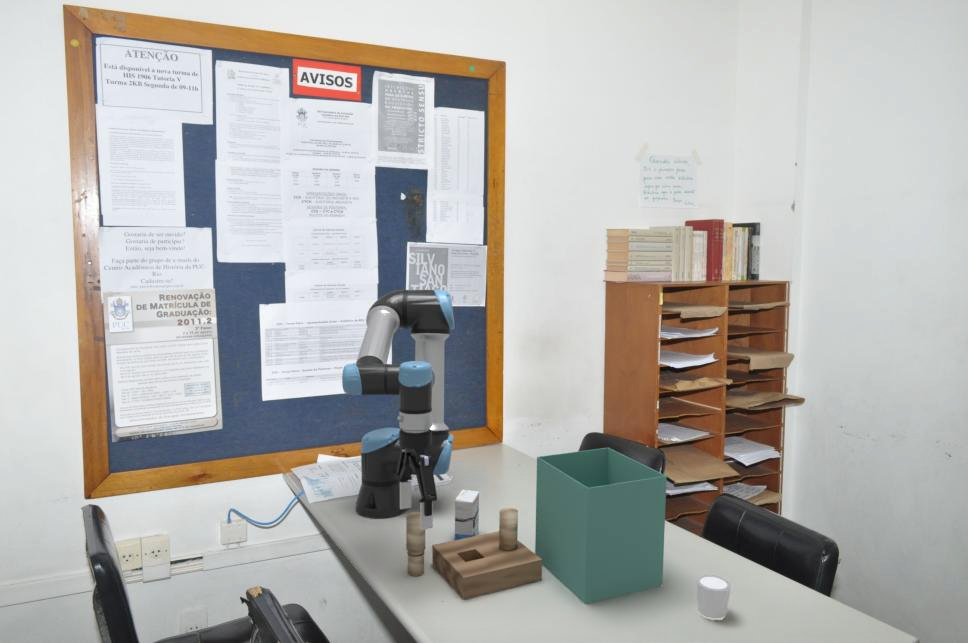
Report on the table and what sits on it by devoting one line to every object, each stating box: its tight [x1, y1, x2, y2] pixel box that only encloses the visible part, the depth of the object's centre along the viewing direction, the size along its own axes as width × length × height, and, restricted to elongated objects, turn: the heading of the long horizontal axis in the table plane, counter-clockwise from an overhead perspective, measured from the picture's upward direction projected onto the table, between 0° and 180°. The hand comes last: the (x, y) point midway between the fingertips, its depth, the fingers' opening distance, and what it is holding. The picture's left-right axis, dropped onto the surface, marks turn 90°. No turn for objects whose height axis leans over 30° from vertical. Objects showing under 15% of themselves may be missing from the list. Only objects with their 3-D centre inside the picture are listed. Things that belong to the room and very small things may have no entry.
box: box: [534, 447, 668, 605], centre depth 158 cm, size 23×21×26 cm
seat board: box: [431, 507, 543, 600], centre depth 158 cm, size 18×20×14 cm
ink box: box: [454, 489, 480, 540], centre depth 177 cm, size 8×5×12 cm, turn 168°
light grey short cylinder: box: [695, 574, 732, 618], centre depth 141 cm, size 7×7×7 cm
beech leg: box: [405, 511, 426, 577], centre depth 158 cm, size 4×4×14 cm
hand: (415, 518), depth 157 cm, fingers open, 13 cm apart
